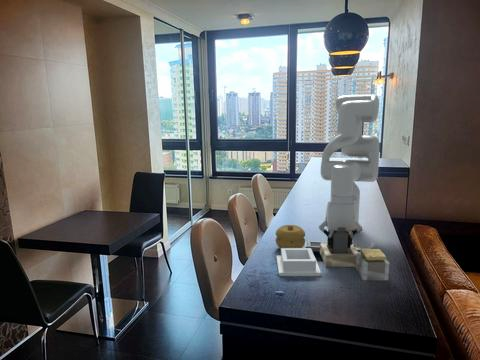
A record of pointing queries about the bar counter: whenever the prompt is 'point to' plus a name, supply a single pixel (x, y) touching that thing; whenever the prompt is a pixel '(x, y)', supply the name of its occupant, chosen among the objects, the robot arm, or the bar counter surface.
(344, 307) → the bar counter surface
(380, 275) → the socket block
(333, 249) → the bottle
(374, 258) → the button
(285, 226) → the pot
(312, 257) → the cradle
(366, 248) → the pliers
